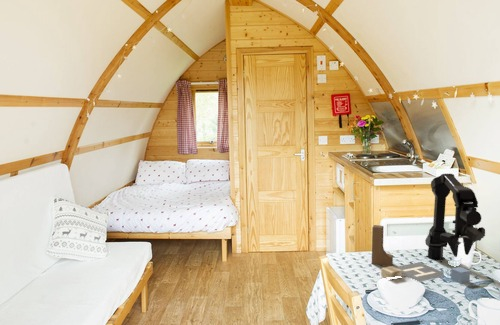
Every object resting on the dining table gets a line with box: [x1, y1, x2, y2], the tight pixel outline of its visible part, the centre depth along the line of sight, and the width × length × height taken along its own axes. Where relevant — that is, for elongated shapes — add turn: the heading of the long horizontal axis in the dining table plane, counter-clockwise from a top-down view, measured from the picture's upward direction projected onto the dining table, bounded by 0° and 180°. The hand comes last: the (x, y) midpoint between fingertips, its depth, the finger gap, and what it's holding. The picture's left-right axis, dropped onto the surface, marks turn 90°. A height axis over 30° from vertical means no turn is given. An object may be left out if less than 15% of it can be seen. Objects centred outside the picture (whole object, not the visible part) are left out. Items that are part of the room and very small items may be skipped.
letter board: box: [395, 262, 445, 283], centre depth 195 cm, size 18×18×1 cm
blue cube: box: [450, 266, 471, 284], centre depth 184 cm, size 5×5×5 cm
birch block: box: [380, 265, 403, 278], centre depth 189 cm, size 6×6×4 cm
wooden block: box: [371, 224, 394, 267], centre depth 204 cm, size 9×4×18 cm, turn 65°
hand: (461, 255), depth 183 cm, fingers open, 6 cm apart
